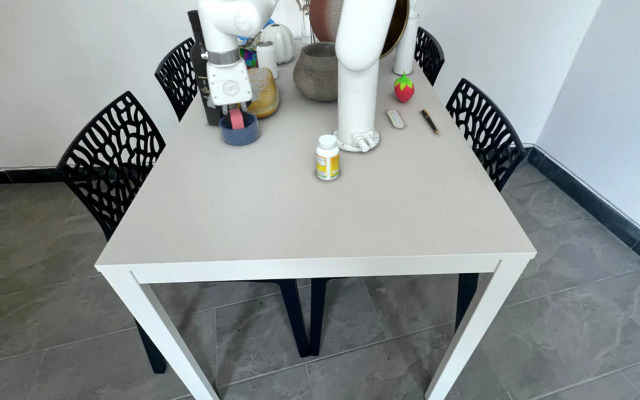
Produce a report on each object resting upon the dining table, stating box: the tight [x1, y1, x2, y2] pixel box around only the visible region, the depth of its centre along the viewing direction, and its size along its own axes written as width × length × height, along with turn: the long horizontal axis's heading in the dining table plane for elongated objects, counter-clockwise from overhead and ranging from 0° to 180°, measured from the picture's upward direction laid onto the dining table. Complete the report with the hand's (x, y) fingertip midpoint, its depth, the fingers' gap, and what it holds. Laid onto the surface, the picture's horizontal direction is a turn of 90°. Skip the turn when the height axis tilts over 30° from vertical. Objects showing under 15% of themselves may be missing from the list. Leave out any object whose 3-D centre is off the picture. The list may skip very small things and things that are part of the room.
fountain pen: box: [421, 108, 439, 135], centre depth 101 cm, size 14×1×2 cm, turn 5°
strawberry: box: [393, 71, 416, 103], centre depth 109 cm, size 6×7×10 cm
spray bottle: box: [393, 0, 420, 76], centre depth 122 cm, size 7×7×25 cm
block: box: [239, 48, 259, 70], centre depth 137 cm, size 12×8×7 cm
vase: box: [260, 22, 297, 65], centre depth 139 cm, size 14×14×13 cm
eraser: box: [229, 108, 244, 129], centre depth 96 cm, size 5×3×4 cm, turn 18°
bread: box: [236, 67, 280, 120], centre depth 113 cm, size 13×26×8 cm, turn 10°
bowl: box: [218, 112, 260, 147], centre depth 98 cm, size 10×10×5 cm
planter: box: [308, 0, 410, 60], centre depth 116 cm, size 25×25×22 cm
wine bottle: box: [186, 9, 231, 127], centre depth 97 cm, size 6×6×30 cm
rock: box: [238, 31, 262, 51], centre depth 149 cm, size 11×20×6 cm
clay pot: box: [292, 41, 338, 102], centre depth 113 cm, size 22×21×15 cm
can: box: [256, 41, 279, 80], centre depth 127 cm, size 6×6×12 cm
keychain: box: [386, 109, 405, 129], centre depth 104 cm, size 10×1×3 cm
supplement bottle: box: [315, 134, 341, 181], centre depth 82 cm, size 5×5×10 cm
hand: (237, 123), depth 97 cm, fingers closed on eraser, 3 cm apart
